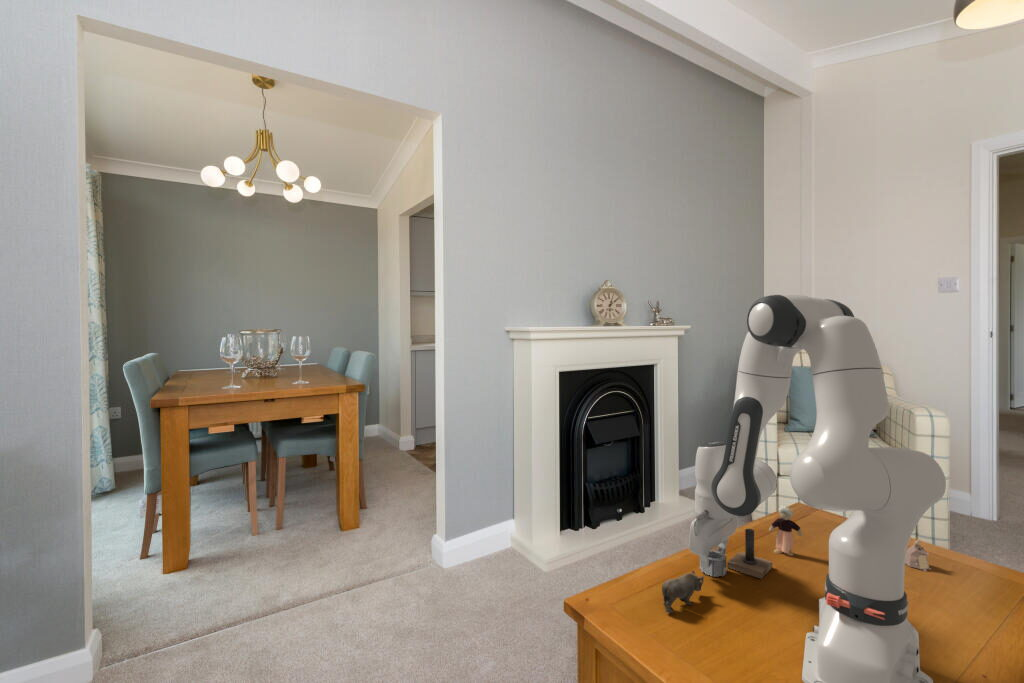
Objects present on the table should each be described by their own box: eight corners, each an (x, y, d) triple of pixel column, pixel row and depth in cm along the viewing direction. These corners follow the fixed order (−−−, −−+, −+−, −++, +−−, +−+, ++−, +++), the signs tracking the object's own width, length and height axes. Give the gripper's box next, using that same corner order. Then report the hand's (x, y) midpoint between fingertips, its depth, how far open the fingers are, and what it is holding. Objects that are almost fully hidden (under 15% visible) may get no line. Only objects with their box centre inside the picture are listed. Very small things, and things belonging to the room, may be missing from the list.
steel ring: (720, 579, 116) (720, 562, 116) (696, 571, 120) (696, 555, 120) (729, 570, 120) (729, 554, 120) (706, 563, 124) (706, 547, 124)
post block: (761, 579, 116) (761, 539, 116) (727, 567, 122) (727, 530, 121) (772, 567, 122) (772, 530, 121) (739, 557, 127) (739, 521, 127)
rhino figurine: (712, 596, 109) (712, 570, 109) (671, 616, 101) (671, 587, 101) (696, 588, 112) (696, 563, 112) (656, 606, 105) (656, 579, 105)
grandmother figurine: (771, 554, 129) (771, 507, 128) (768, 548, 132) (768, 502, 132) (804, 558, 126) (804, 510, 126) (799, 551, 130) (799, 505, 130)
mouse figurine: (899, 555, 128) (899, 530, 127) (935, 569, 120) (935, 542, 120) (887, 559, 126) (887, 533, 126) (922, 573, 118) (922, 545, 118)
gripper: (708, 521, 111) (707, 580, 111) (742, 498, 125) (742, 551, 125) (682, 513, 115) (682, 570, 116) (718, 493, 130) (717, 543, 130)
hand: (713, 560), depth 121 cm, fingers open, 8 cm apart
